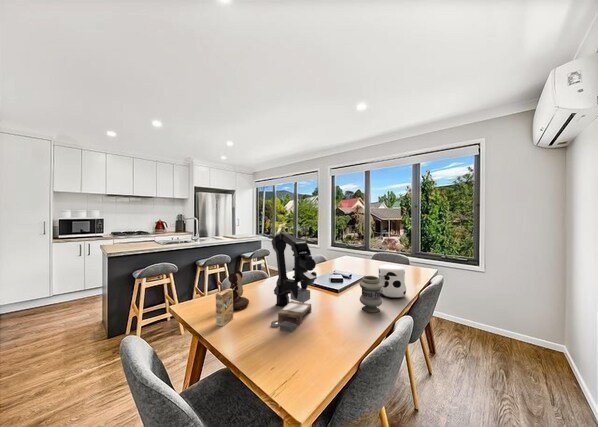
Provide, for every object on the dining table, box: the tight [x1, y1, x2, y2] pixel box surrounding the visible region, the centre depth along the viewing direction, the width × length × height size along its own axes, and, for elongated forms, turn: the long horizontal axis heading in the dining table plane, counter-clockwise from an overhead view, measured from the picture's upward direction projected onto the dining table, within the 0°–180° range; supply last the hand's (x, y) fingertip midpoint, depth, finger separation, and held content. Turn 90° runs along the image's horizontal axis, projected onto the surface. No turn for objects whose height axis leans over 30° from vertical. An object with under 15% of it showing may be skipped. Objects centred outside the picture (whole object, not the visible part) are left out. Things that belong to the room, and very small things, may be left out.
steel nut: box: [270, 320, 280, 328], centre depth 112 cm, size 4×4×2 cm
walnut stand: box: [277, 300, 312, 326], centre depth 122 cm, size 12×16×4 cm
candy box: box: [215, 288, 234, 327], centre depth 116 cm, size 9×4×15 cm, turn 162°
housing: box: [290, 286, 311, 303], centre depth 119 cm, size 6×8×6 cm
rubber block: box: [279, 320, 296, 333], centre depth 109 cm, size 6×4×2 cm, turn 60°
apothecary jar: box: [359, 275, 384, 315], centre depth 128 cm, size 12×12×18 cm
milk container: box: [378, 264, 407, 299], centre depth 150 cm, size 17×17×18 cm
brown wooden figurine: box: [227, 269, 250, 311], centre depth 135 cm, size 15×15×20 cm
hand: (299, 296), depth 119 cm, fingers closed on housing, 6 cm apart
